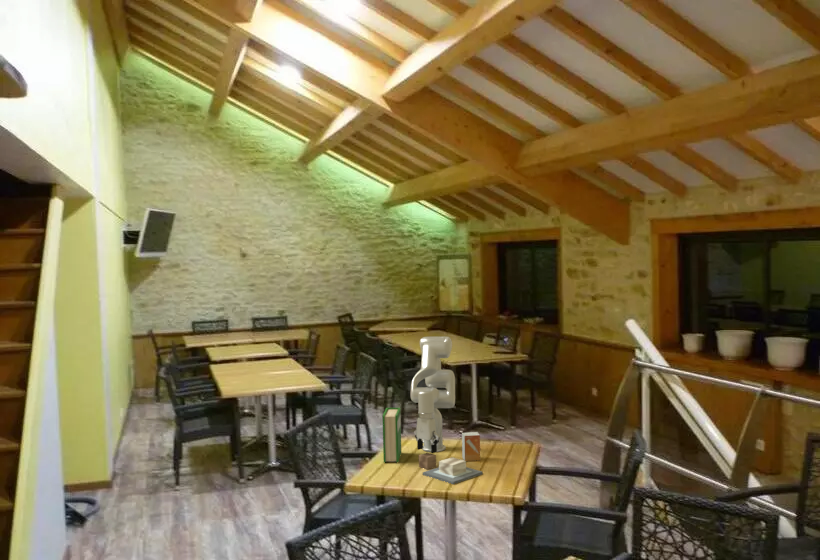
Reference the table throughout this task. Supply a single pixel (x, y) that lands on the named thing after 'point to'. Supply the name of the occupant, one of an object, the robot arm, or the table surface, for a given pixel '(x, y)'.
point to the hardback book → (392, 434)
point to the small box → (471, 446)
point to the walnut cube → (427, 461)
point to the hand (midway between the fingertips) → (427, 450)
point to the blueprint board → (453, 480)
